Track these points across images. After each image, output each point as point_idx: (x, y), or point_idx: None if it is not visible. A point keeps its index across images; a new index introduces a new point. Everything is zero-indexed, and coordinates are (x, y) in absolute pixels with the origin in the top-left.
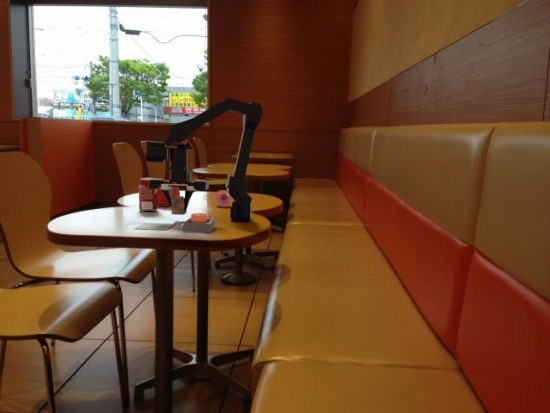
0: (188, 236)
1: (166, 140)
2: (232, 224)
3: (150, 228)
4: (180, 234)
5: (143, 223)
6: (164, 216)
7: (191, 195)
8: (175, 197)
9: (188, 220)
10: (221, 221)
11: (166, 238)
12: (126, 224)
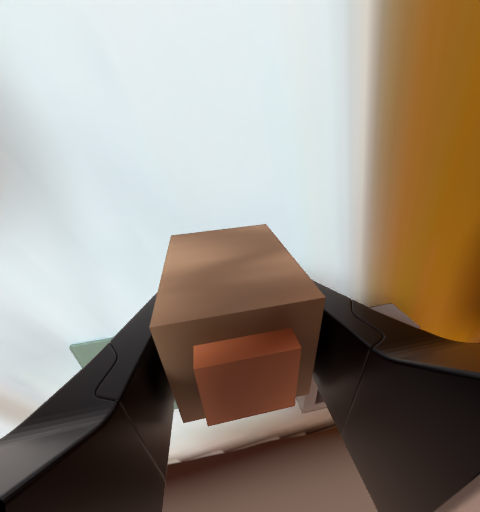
0: (314, 411)
1: None
2: (471, 241)
3: (174, 404)
4: (290, 407)
5: (82, 362)
6: (6, 95)
7: (420, 342)
8: (220, 419)
9: (314, 383)
10: (442, 186)
11: (266, 438)
12: (10, 386)
